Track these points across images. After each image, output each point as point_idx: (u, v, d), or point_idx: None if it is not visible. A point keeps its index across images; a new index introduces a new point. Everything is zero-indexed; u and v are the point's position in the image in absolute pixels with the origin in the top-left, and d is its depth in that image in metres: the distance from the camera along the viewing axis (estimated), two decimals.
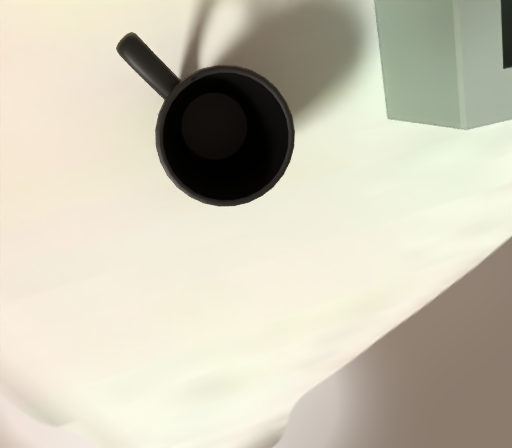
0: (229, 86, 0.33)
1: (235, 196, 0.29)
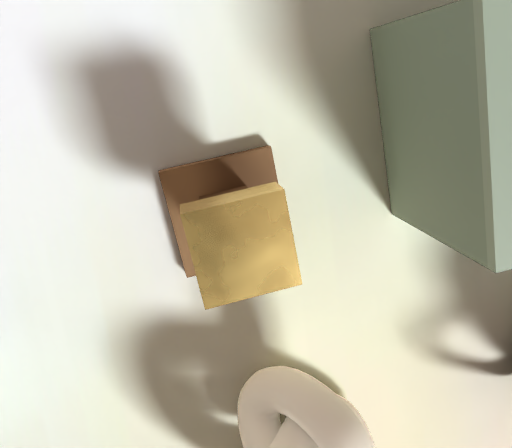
0: None
1: None
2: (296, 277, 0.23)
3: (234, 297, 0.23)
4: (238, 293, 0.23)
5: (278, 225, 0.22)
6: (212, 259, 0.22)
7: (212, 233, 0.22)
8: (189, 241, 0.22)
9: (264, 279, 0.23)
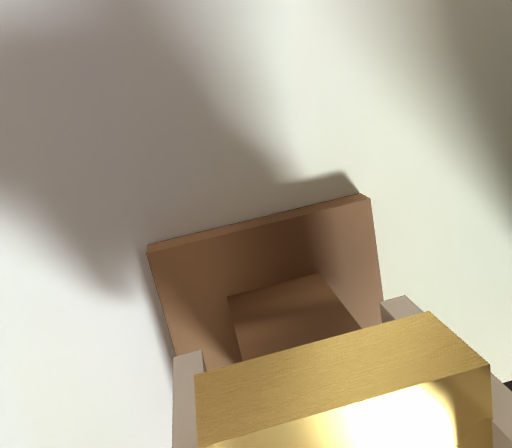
0: None
1: None
2: None
3: None
4: None
5: None
6: None
7: None
8: None
9: None
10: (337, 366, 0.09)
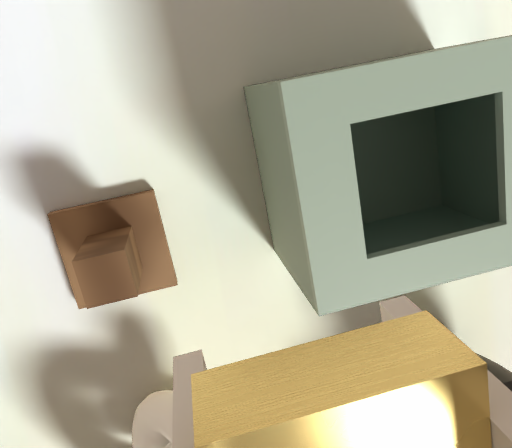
0: None
1: None
2: None
3: None
4: None
5: None
6: None
7: None
8: None
9: None
10: (334, 365, 0.09)
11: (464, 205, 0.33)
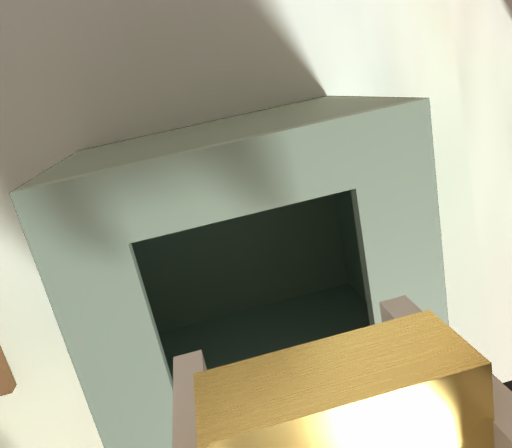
0: None
1: None
2: None
3: None
4: None
5: None
6: None
7: None
8: None
9: None
10: (337, 365, 0.09)
11: None
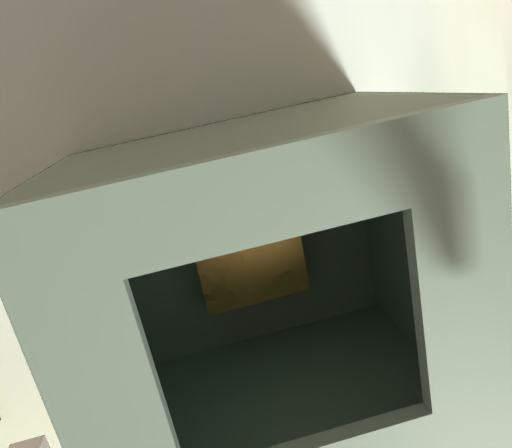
0: None
1: None
2: (304, 282, 0.22)
3: (239, 303, 0.22)
4: (243, 298, 0.22)
5: None
6: (217, 263, 0.21)
7: None
8: None
9: (271, 284, 0.22)
10: None
11: (400, 319, 0.23)
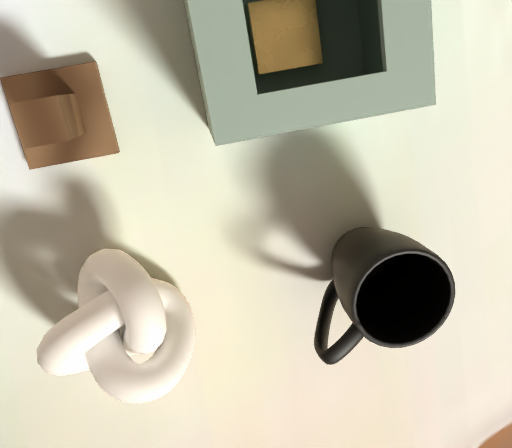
0: None
1: (445, 288, 0.36)
2: (319, 57, 0.36)
3: (278, 67, 0.36)
4: (281, 64, 0.35)
5: (309, 17, 0.35)
6: (266, 37, 0.35)
7: (267, 18, 0.34)
8: (252, 23, 0.34)
9: (298, 56, 0.35)
10: None
11: None
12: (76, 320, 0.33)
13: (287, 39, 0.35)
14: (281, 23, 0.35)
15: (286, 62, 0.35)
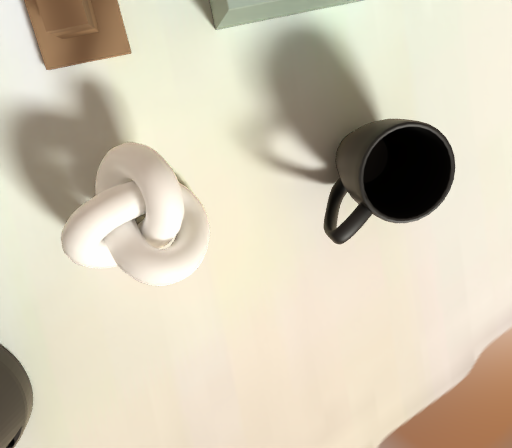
0: None
1: (446, 164, 0.38)
2: None
3: None
4: None
5: None
6: None
7: None
8: None
9: None
10: None
11: None
12: (99, 200, 0.35)
13: None
14: None
15: None
